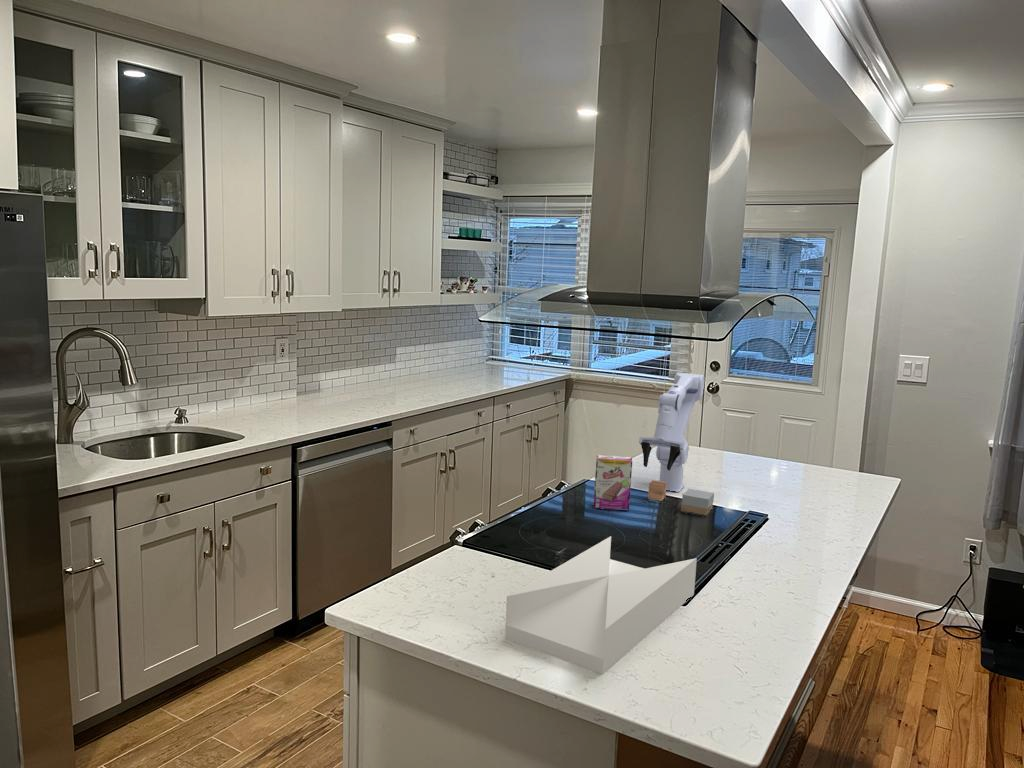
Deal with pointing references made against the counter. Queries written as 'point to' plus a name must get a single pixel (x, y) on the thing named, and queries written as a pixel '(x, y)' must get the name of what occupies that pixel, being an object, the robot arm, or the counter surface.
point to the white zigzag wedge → (596, 607)
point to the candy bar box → (612, 482)
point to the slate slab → (698, 498)
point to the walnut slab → (696, 509)
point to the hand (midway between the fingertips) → (656, 467)
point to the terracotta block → (657, 490)
